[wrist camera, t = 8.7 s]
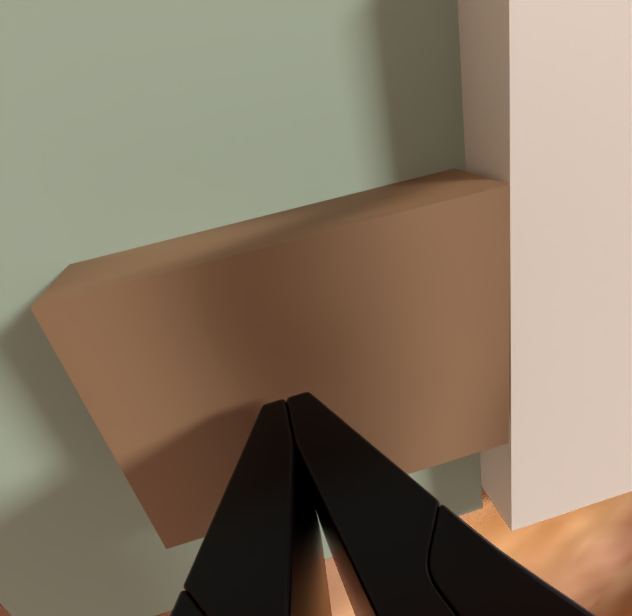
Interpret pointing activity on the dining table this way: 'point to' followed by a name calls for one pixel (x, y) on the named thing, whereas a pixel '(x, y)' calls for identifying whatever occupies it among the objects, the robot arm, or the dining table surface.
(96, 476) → the mat
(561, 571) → the dining table surface
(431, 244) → the walnut tile
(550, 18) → the deck
